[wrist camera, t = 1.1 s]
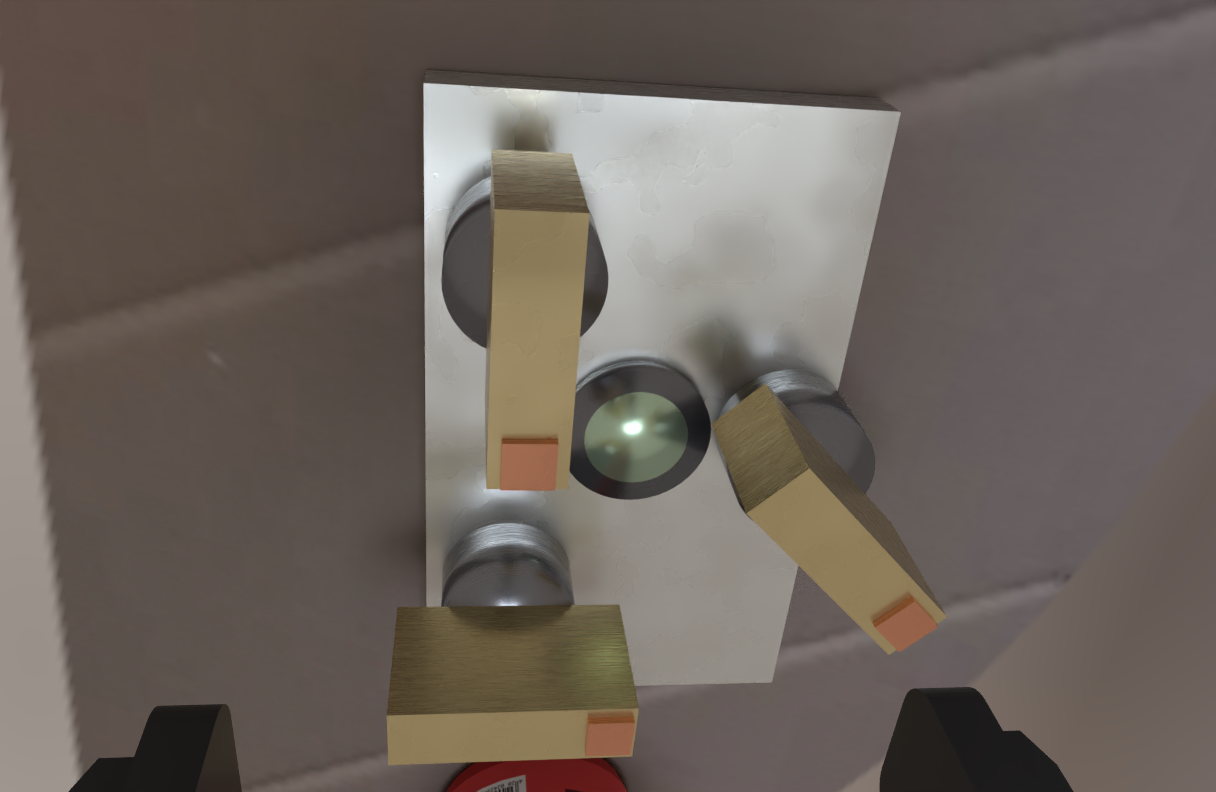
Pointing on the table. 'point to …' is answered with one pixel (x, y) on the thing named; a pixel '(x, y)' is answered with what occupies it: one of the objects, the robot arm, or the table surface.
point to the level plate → (659, 337)
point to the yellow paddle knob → (823, 501)
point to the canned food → (539, 776)
